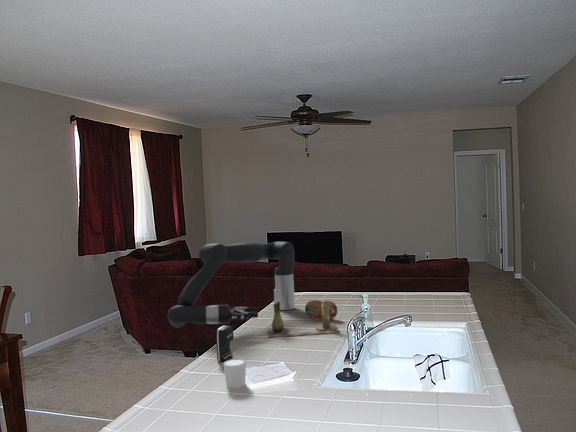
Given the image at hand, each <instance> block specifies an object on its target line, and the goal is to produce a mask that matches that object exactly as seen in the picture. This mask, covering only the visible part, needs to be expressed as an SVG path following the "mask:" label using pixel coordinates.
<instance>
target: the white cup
mask: <svg viewBox="0 0 576 432" xmlns="http://www.w3.org/2000/svg"><path fill="white" fill-rule="evenodd" d="M223 370H224V376H225V383H226V384H225V385H226V388H228V389H233V390H234V389H241V388H243V387H244V386H246V375H247V374H246V372H247V361H246V359H242V358H241V359H240V358H233V359H228V360H227V361H223Z"/></svg>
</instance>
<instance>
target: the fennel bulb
mask: <svg viewBox="0 0 576 432" xmlns="http://www.w3.org/2000/svg"><path fill="white" fill-rule="evenodd" d="M273 312H274V316H273V320H272V323H271V327H272V328H271V329H272V330H273V331H281V330H283V328H285V323H284V320H283V317H282V315H281V310H280V301H278V302H275V304H274V303H273Z"/></svg>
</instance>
